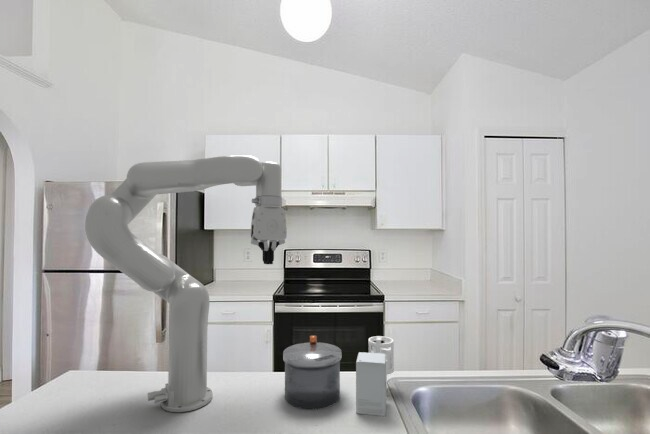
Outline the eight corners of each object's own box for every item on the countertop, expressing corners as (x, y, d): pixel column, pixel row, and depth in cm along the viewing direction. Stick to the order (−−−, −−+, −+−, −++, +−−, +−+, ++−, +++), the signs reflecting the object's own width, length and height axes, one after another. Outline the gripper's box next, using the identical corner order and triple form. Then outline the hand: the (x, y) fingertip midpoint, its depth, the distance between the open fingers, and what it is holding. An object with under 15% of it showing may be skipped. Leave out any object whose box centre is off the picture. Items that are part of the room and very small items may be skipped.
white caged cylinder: (365, 392, 94) (365, 337, 95) (372, 382, 100) (371, 331, 101) (391, 397, 91) (390, 340, 92) (396, 386, 98) (395, 333, 98)
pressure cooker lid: (301, 373, 82) (301, 358, 82) (273, 354, 95) (273, 341, 95) (353, 359, 91) (353, 346, 91) (320, 344, 104) (320, 332, 104)
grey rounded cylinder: (302, 415, 82) (302, 373, 83) (275, 391, 95) (275, 355, 95) (351, 398, 90) (350, 360, 91) (320, 379, 103) (320, 345, 103)
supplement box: (386, 417, 82) (385, 363, 82) (355, 413, 83) (355, 361, 84) (386, 402, 89) (386, 353, 89) (358, 399, 90) (358, 351, 91)
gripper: (249, 201, 96) (249, 266, 95) (296, 203, 104) (296, 263, 103) (240, 203, 102) (239, 264, 101) (284, 205, 110) (284, 261, 109)
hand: (268, 263), depth 102 cm, fingers closed
